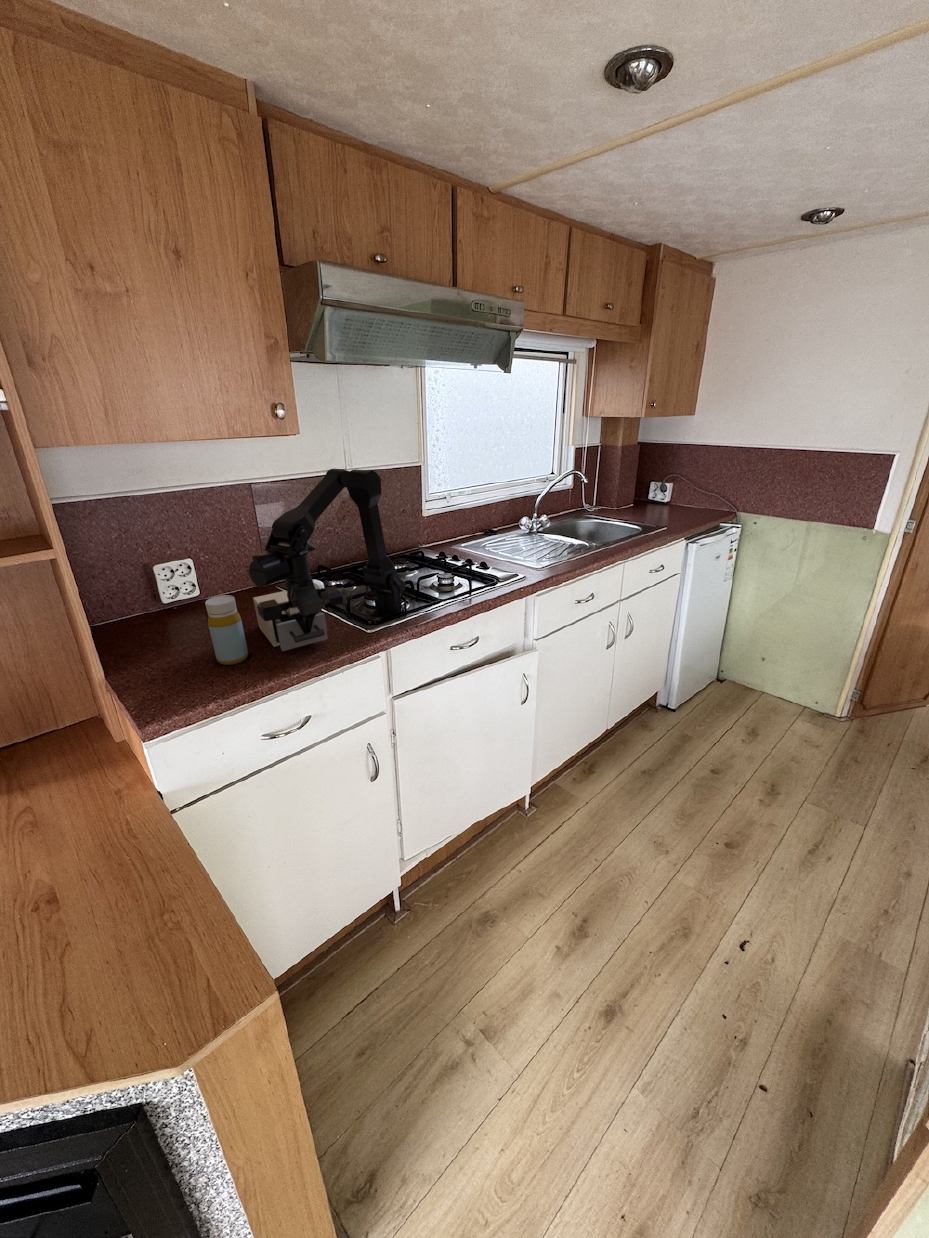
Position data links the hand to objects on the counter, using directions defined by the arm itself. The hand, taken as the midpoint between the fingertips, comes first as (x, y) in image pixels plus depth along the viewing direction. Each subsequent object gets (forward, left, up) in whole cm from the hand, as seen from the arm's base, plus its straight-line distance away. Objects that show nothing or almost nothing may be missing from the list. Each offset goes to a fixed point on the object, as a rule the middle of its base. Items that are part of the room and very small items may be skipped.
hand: (307, 636), depth 127 cm
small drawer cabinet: (0, -16, -4) cm, 17 cm away
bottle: (+16, -8, -5) cm, 18 cm away
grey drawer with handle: (0, -7, -4) cm, 8 cm away
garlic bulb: (-15, -38, -5) cm, 41 cm away
